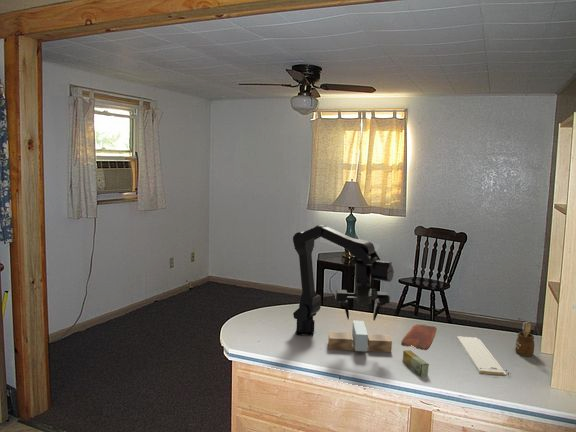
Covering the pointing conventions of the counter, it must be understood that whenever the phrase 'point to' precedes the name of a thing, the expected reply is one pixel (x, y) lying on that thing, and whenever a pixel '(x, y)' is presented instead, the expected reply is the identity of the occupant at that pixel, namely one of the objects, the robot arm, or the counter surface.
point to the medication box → (415, 363)
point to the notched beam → (346, 343)
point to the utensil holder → (525, 342)
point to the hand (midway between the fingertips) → (361, 319)
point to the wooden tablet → (419, 336)
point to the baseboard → (480, 356)
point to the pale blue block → (359, 336)
